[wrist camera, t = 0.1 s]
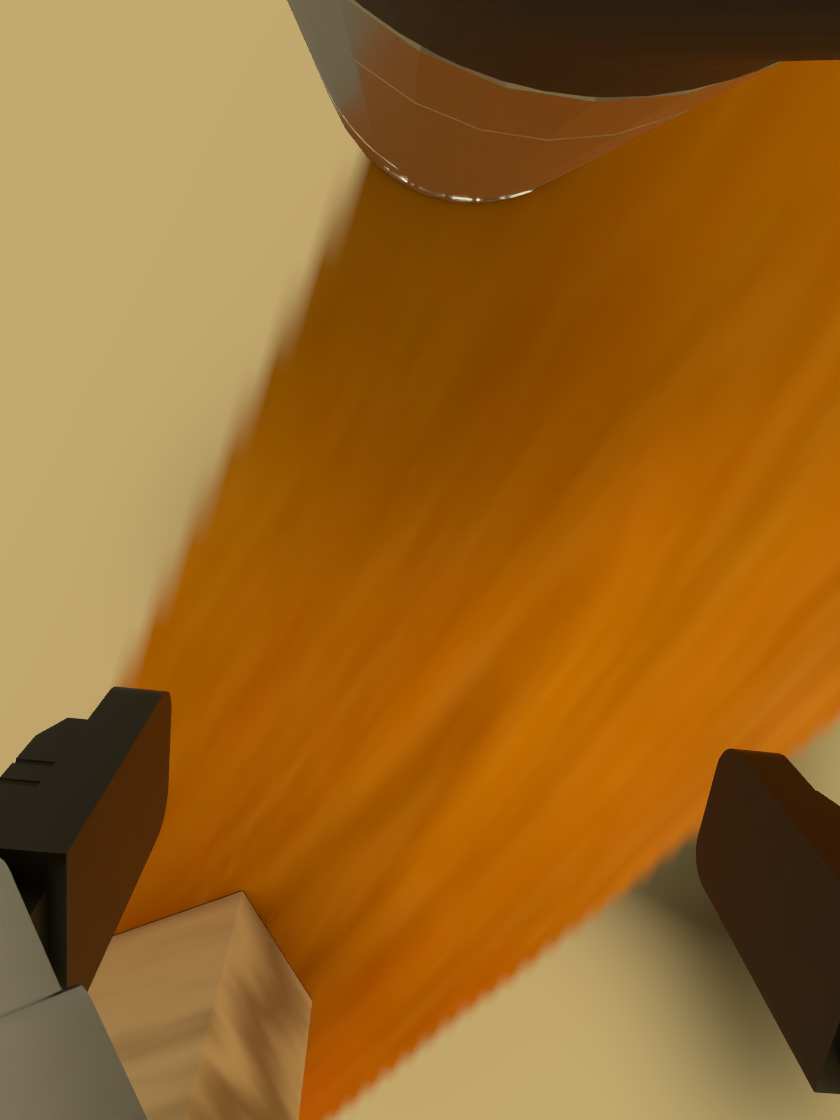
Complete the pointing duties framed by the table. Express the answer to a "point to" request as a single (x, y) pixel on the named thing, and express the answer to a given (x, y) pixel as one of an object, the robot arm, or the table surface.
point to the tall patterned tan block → (206, 1015)
